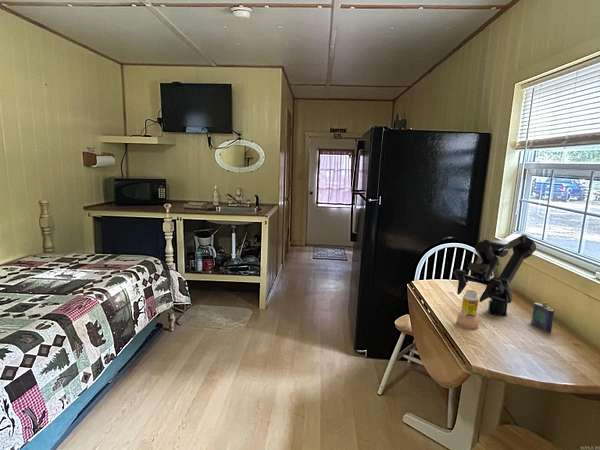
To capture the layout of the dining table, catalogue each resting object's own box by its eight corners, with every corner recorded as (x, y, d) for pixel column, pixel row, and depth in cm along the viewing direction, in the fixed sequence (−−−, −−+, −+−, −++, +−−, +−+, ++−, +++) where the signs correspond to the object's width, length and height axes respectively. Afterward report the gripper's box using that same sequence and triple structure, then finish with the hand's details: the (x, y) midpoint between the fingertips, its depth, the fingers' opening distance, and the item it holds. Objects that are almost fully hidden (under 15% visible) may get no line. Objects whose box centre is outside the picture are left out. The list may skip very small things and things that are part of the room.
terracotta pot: (476, 322, 149) (477, 313, 148) (479, 331, 141) (481, 321, 140) (455, 319, 151) (456, 310, 150) (457, 327, 143) (458, 318, 143)
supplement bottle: (466, 318, 142) (469, 294, 140) (458, 313, 147) (460, 289, 146) (479, 318, 143) (482, 294, 141) (470, 312, 148) (473, 289, 147)
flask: (529, 322, 151) (533, 298, 149) (535, 322, 151) (539, 298, 149) (547, 332, 142) (551, 306, 140) (553, 332, 142) (558, 306, 140)
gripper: (458, 250, 151) (440, 279, 146) (504, 260, 136) (486, 293, 131) (467, 265, 157) (449, 294, 152) (511, 277, 142) (494, 309, 137)
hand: (468, 297), depth 143 cm, fingers open, 9 cm apart
